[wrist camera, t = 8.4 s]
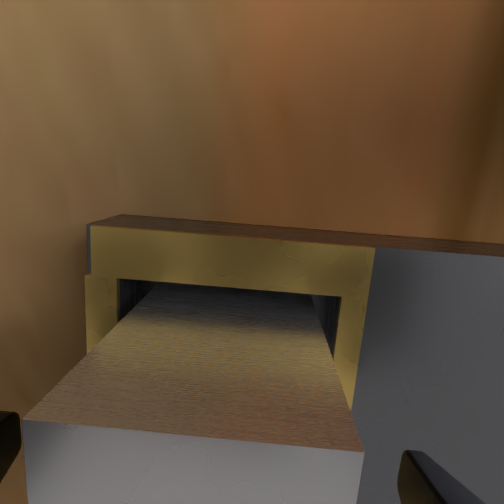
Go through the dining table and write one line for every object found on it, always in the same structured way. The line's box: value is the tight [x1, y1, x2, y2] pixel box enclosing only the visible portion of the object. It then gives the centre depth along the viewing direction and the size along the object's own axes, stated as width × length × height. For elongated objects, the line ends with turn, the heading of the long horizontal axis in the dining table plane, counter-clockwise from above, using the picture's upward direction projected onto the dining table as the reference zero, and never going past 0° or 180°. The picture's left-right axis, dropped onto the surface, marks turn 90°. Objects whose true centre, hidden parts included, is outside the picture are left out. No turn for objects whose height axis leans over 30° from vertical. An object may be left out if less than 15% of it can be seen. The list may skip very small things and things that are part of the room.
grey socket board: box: [84, 214, 504, 504], centre depth 12 cm, size 20×9×3 cm, turn 86°
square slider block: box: [21, 282, 365, 504], centre depth 9 cm, size 5×5×7 cm
